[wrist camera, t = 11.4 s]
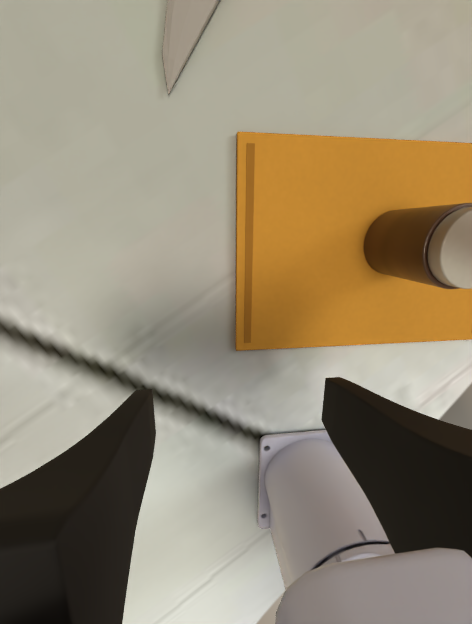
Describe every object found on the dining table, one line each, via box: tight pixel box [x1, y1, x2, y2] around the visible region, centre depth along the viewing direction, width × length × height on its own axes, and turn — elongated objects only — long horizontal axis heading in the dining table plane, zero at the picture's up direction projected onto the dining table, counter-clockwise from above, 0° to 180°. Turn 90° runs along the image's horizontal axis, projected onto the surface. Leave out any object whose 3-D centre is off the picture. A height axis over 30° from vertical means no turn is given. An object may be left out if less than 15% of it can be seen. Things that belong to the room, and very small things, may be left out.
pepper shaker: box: [364, 203, 472, 289], centre depth 17 cm, size 4×4×6 cm
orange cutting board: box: [236, 132, 472, 351], centre depth 21 cm, size 14×20×1 cm
